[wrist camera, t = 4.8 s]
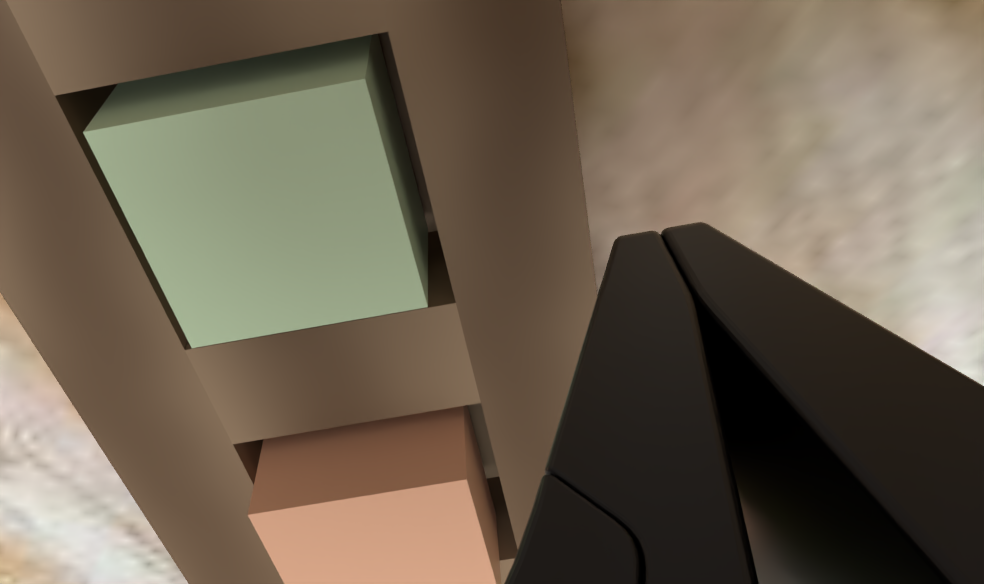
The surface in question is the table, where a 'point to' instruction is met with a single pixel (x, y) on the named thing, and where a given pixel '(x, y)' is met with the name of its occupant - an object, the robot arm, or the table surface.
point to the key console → (323, 349)
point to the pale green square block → (269, 190)
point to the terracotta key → (378, 503)
